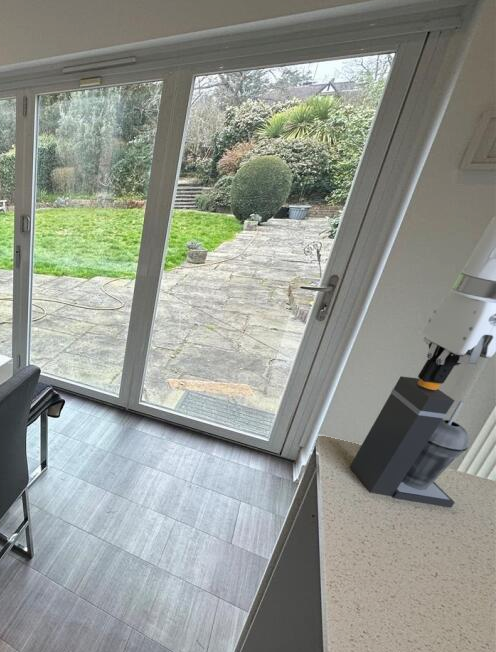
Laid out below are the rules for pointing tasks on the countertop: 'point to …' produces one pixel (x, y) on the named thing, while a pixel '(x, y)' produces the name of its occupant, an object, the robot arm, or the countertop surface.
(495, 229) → the robot arm
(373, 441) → the espresso machine
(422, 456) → the beverage cup
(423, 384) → the brew button
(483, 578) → the countertop surface
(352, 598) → the countertop surface
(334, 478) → the countertop surface
